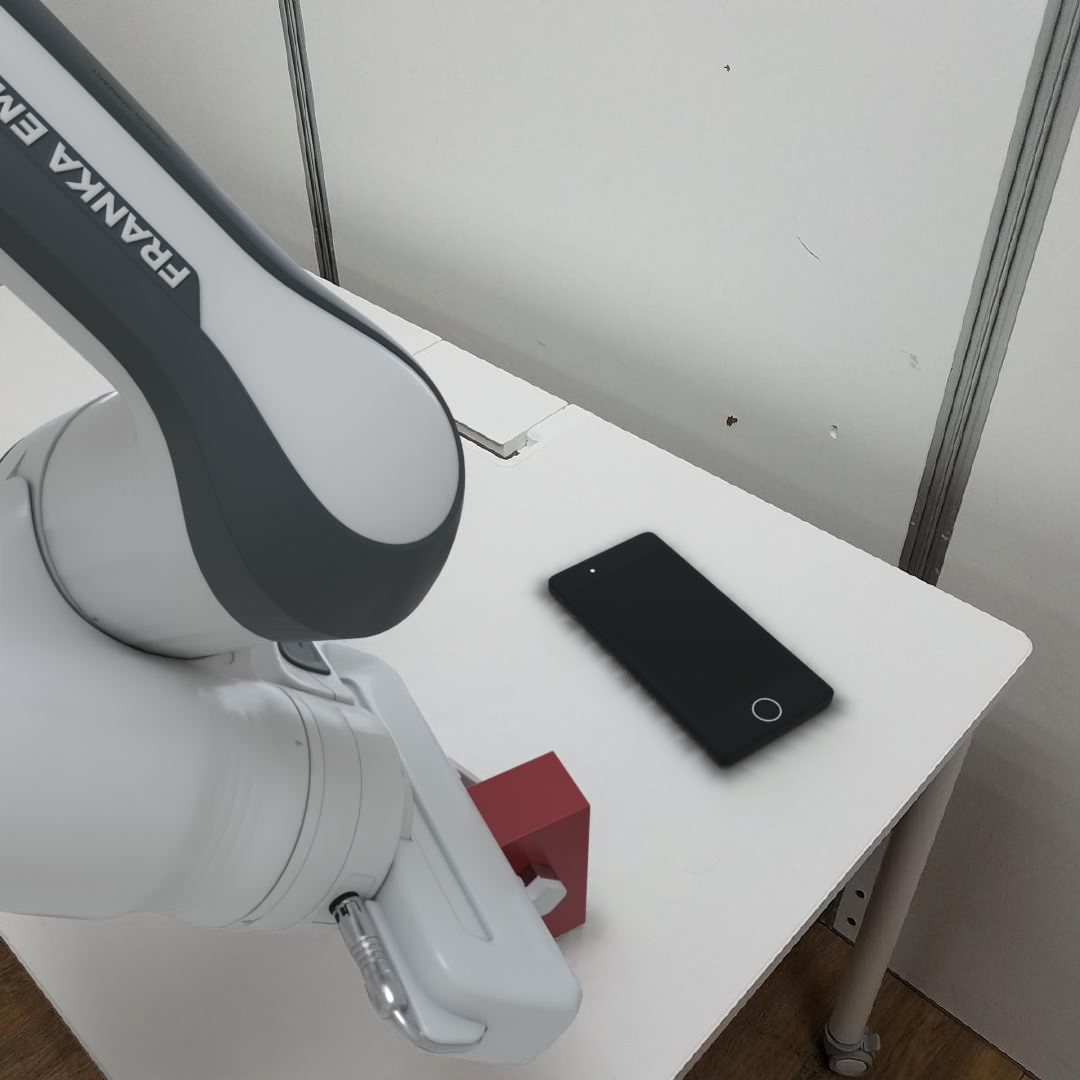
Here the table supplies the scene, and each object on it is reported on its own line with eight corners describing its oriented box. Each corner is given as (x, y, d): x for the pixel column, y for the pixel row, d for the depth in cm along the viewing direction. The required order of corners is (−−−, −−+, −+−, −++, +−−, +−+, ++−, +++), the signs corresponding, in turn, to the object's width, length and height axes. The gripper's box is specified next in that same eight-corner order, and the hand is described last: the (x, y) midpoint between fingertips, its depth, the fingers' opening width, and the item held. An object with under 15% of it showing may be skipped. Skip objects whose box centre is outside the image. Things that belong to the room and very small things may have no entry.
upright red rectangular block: (478, 977, 54) (468, 862, 47) (447, 919, 56) (434, 801, 49) (587, 922, 56) (593, 804, 49) (554, 868, 58) (555, 748, 52)
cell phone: (723, 771, 63) (725, 760, 62) (544, 588, 74) (544, 578, 74) (835, 702, 67) (838, 692, 66) (649, 538, 78) (649, 528, 77)
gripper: (459, 986, 35) (694, 993, 45) (259, 587, 48) (473, 660, 58) (342, 1116, 36) (595, 1095, 46) (180, 692, 50) (402, 746, 60)
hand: (525, 849), depth 52 cm, fingers closed on upright red rectangular block, 3 cm apart
